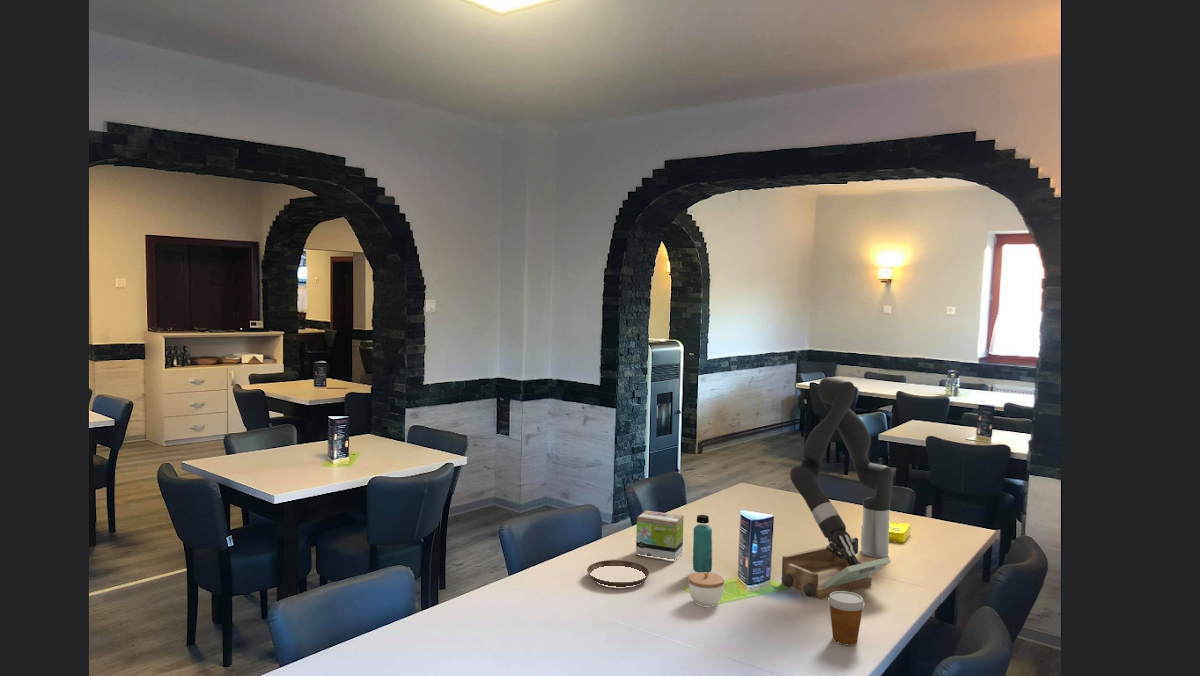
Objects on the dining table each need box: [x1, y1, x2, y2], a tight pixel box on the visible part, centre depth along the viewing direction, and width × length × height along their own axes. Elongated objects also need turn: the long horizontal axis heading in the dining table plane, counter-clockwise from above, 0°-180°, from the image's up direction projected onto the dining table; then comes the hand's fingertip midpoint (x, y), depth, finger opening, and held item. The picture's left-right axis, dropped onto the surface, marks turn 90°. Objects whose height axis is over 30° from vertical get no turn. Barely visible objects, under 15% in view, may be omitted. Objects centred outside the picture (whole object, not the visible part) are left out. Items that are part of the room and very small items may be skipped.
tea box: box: [635, 509, 684, 560], centre depth 275 cm, size 15×10×15 cm, turn 68°
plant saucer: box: [586, 559, 650, 587], centre depth 251 cm, size 21×21×3 cm
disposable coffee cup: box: [827, 591, 865, 646], centre depth 207 cm, size 10×10×12 cm
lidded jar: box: [688, 572, 725, 607], centre depth 231 cm, size 11×11×9 cm
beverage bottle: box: [692, 514, 713, 573], centre depth 256 cm, size 6×7×20 cm
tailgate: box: [823, 556, 892, 588], centre depth 238 cm, size 2×19×12 cm
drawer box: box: [781, 546, 872, 600], centre depth 248 cm, size 16×26×9 cm, turn 121°
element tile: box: [889, 520, 912, 543], centre depth 304 cm, size 15×15×5 cm
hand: (857, 568), depth 237 cm, fingers closed
